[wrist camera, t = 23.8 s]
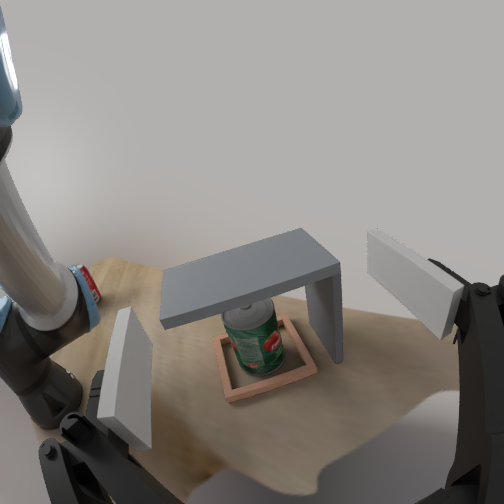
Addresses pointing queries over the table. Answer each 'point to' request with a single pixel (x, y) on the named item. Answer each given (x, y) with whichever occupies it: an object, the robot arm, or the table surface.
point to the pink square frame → (271, 382)
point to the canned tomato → (255, 337)
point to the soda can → (89, 282)
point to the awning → (259, 284)
